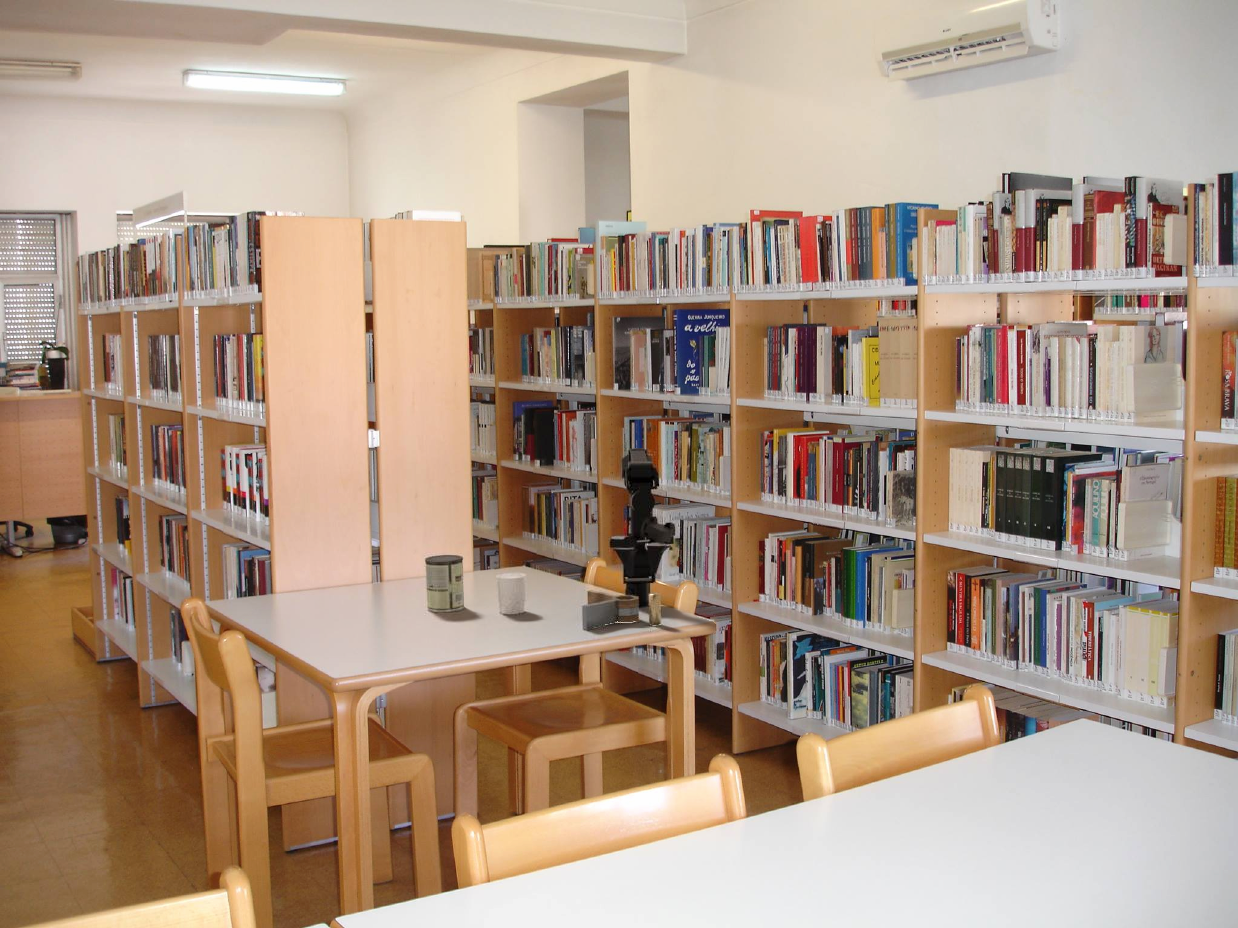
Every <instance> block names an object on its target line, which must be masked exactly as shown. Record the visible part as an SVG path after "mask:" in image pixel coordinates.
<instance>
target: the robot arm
mask: <svg viewBox="0 0 1238 928" xmlns="http://www.w3.org/2000/svg"><path fill="white" fill-rule="evenodd" d="M620 461H621V465H620V466H621V467H620V469H621V470H620V471H621V472H620V473H621V475H620V476H621V479H623V484H624V487H625V488H626V491H628V493H629V516H626V521H627V522H629V524H630V525H629V529H630V530H629V532H628V533H626V535H615V536H611V537H610V539H609V549H610V548H611V549H612V551H613V552H615V553H616V555H617V556H618V558H619V560H620V561H621V564H622V584H623V585H625V590H624V593H625V594H624V595H633V596H638V597H639V608H641V607H640V606H642V607H645V605H646V606H648V605H647V604H649V593H651V584H655V583H656V582H657V581H656V574H658V570H659V567H660V564H661V560H662V557H663V554H664V553H665V552H666V550H668V549H669V548H671V545H674V544H675V540H674V538H675V536H676V524H675V523H673V522H665V523H664V524H663V523H662V524H661V523H659V522H658V517H657V516H654V508H655V506H656V500H655V497H654V495H653V493H652V490H658V487H660V477H659V475H660V474H659V471H658V469H657V467H656V466H654V463H653V459H652V457H650V456H649V454H648V450H647V449H645V448H643V447H642V448H640V447H639V448H630V449H628V450H627V454H625V456H624V457H623V458H621V460H620ZM647 544H649V545H647Z"/></svg>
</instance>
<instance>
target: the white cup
mask: <svg viewBox="0 0 1238 928" xmlns="http://www.w3.org/2000/svg"><path fill="white" fill-rule="evenodd" d="M526 575H527V574H525V573H522V572H521V573H520V572H506V573H500V574H497V575H496V590H497V598H498V599H497V600H498V608H499V614H502V615H519V613H520V614H522V613H525V605H526V604H525V602H526V591H527V590H526V587H527V586H526V585H527V584H526V583H527V580H526V579H527V577H526Z"/></svg>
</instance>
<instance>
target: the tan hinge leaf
mask: <svg viewBox="0 0 1238 928" xmlns="http://www.w3.org/2000/svg"><path fill="white" fill-rule="evenodd" d="M586 595H587V605H589V604H593V603H598V602H603V601H608V600H617V608H632V607H637V606H638V605H639V597H638V596H633V595H625V594H621V595H620V594H619V595H617V594H613V593H608V592H601V591H597V590H593V589H591V590H587V594H586ZM639 620H640V612H639V613H638V614H636V615H631V616H617V621H618V622H633V621H639Z"/></svg>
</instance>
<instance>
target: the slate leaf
mask: <svg viewBox="0 0 1238 928" xmlns="http://www.w3.org/2000/svg"><path fill="white" fill-rule="evenodd" d="M581 607H582V608H581V610H582V616H581V617H582V630H584V629H590V630H593V629H592V628H594V627H599V626H603V625H605V624H610V623H615V622H617V616H631V615H636V614H638V613H639V614H640V612H639V611H640V609H639V608H640V607H639V605H638V606H637V607H632V608H617V600H608V601H603V602H598V603H593V604H589V605H588V604H584V605H581ZM603 627H604V626H603ZM599 628H600V627H599ZM594 629H595V628H594Z"/></svg>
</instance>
